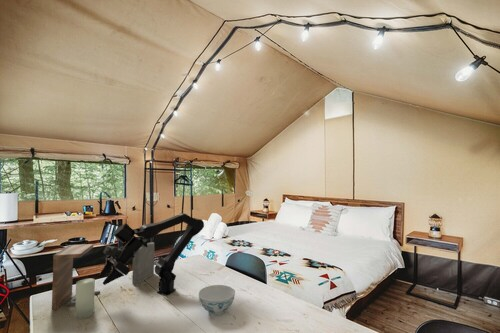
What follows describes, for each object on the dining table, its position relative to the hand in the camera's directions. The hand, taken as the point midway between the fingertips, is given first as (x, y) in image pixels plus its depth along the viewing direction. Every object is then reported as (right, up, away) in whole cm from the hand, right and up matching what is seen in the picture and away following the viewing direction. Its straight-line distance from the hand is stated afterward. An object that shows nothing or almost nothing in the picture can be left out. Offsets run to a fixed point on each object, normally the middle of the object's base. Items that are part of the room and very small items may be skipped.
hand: (101, 280), depth 109 cm
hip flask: (+4, -13, +33) cm, 35 cm away
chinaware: (+48, -13, -1) cm, 50 cm away
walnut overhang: (-15, -12, +8) cm, 21 cm away
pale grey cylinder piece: (-4, -12, -4) cm, 13 cm away
